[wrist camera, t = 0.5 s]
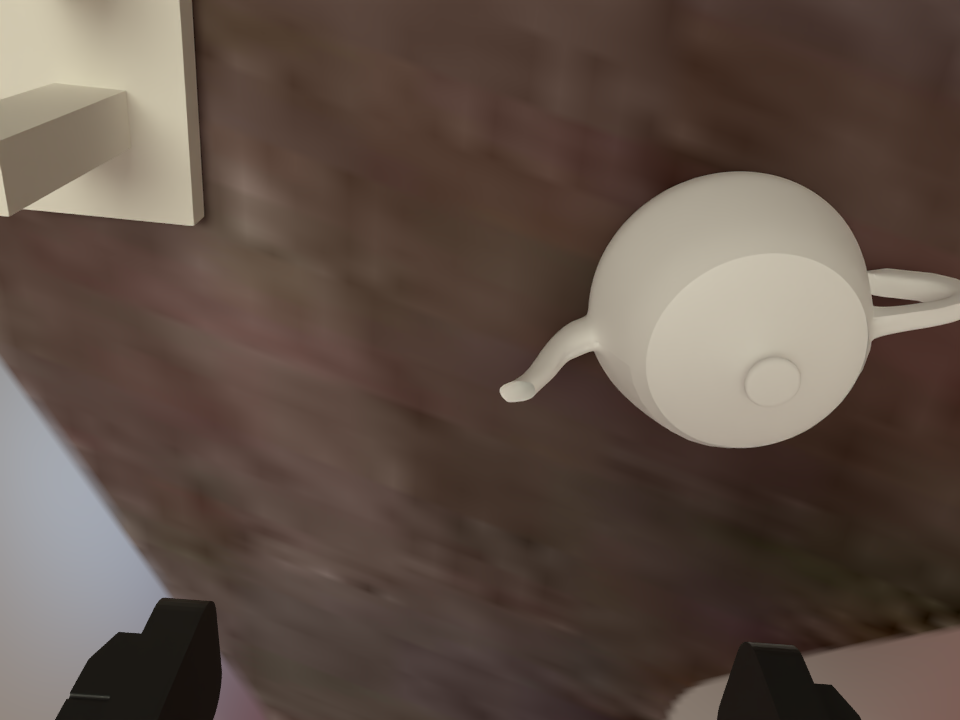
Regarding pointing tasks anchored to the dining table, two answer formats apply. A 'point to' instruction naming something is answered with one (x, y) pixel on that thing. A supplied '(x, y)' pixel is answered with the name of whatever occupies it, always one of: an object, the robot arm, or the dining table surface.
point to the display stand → (100, 109)
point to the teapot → (737, 311)
